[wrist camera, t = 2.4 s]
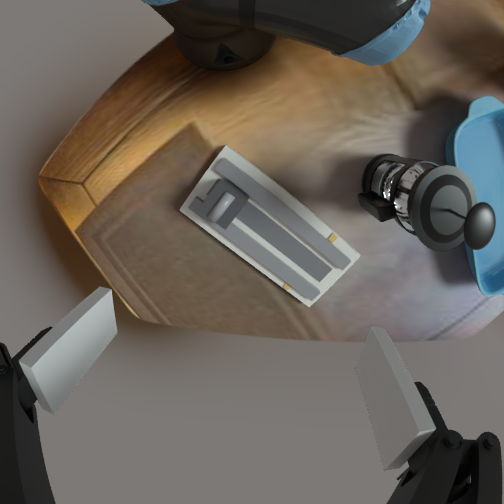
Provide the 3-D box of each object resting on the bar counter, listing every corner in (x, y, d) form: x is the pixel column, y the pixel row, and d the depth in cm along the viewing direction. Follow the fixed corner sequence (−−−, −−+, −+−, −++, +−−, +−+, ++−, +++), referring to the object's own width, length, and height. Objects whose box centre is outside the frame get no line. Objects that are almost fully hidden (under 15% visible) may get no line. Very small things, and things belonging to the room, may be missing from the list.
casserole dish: (414, 117, 34) (437, 114, 27) (493, 88, 28) (516, 85, 22) (461, 299, 44) (478, 317, 38) (525, 253, 39) (544, 265, 32)
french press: (409, 146, 35) (513, 160, 14) (423, 202, 38) (518, 256, 17) (343, 166, 38) (415, 194, 17) (361, 224, 41) (429, 302, 20)
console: (182, 207, 42) (177, 211, 40) (227, 145, 38) (224, 145, 36) (308, 302, 47) (309, 310, 44) (358, 252, 43) (362, 258, 40)
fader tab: (207, 201, 40) (196, 210, 35) (225, 177, 38) (216, 183, 33) (231, 220, 41) (224, 231, 35) (249, 196, 39) (245, 205, 34)
